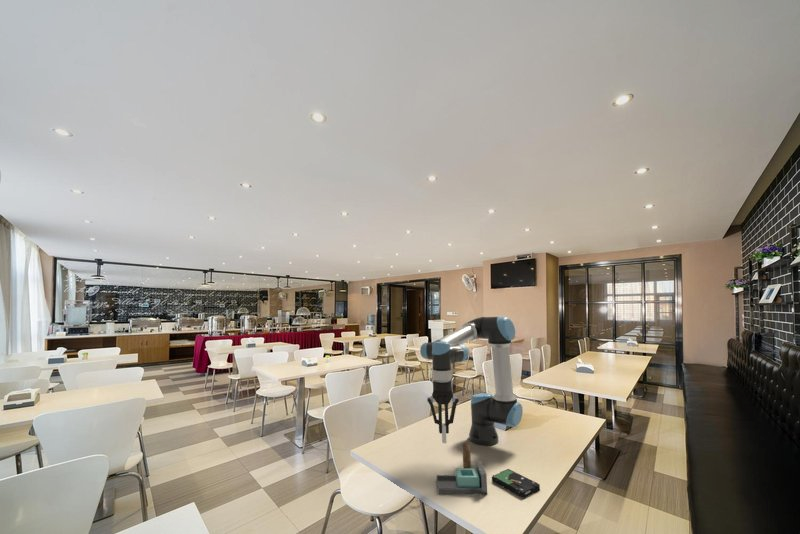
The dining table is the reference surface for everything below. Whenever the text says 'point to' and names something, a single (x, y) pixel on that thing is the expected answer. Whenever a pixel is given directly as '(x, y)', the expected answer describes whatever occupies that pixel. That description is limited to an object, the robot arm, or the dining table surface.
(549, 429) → the dining table surface
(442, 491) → the rail base
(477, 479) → the block
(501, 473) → the disk drive
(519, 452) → the dining table surface
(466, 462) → the dowel
